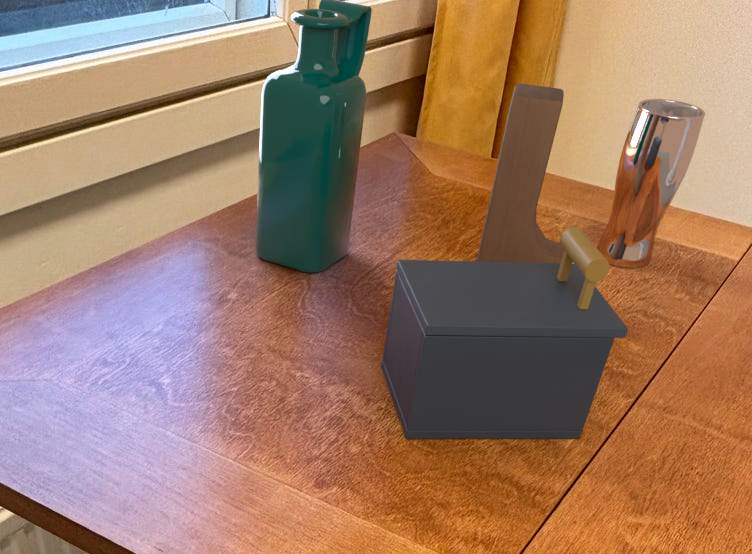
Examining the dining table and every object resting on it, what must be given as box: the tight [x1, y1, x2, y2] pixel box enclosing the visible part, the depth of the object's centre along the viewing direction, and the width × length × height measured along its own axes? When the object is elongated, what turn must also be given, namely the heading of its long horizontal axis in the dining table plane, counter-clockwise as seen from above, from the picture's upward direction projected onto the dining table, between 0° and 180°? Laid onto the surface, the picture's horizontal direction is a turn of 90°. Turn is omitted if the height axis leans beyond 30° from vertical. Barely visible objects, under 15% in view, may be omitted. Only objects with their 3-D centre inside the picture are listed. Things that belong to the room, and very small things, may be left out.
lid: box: [396, 226, 629, 339], centre depth 68 cm, size 15×12×5 cm
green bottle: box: [254, 0, 373, 274], centre depth 89 cm, size 10×8×22 cm
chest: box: [380, 270, 615, 440], centre depth 73 cm, size 15×12×9 cm
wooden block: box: [475, 83, 565, 264], centre depth 86 cm, size 9×4×18 cm, turn 75°
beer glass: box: [596, 98, 706, 269], centre depth 95 cm, size 7×7×15 cm
